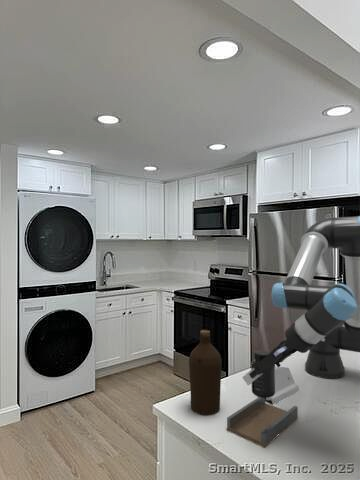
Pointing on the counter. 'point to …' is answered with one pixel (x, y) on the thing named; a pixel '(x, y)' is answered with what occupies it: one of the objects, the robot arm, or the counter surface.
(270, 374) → the supplement bottle
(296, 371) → the counter surface
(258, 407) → the floor track
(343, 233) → the robot arm
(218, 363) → the olive oil
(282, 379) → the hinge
